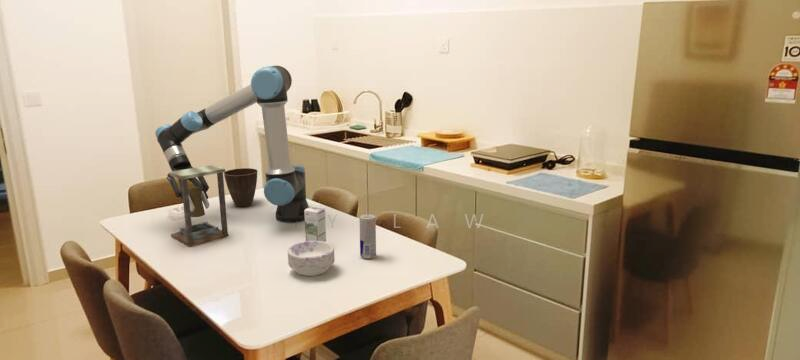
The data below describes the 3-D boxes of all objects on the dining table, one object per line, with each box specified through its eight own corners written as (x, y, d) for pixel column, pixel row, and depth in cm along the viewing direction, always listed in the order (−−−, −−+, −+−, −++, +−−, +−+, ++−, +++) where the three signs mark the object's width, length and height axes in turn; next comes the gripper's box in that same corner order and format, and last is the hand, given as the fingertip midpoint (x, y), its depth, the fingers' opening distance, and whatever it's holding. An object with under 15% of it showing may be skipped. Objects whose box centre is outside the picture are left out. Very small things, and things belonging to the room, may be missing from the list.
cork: (201, 217, 211) (199, 189, 208) (186, 217, 211) (183, 189, 208) (207, 212, 217) (204, 185, 214) (192, 212, 217) (189, 185, 214)
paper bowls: (314, 284, 173) (313, 260, 171) (279, 273, 181) (277, 251, 179) (344, 267, 186) (343, 245, 184) (309, 258, 194) (308, 237, 192)
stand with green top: (210, 226, 227) (205, 162, 220) (230, 236, 216) (225, 168, 209) (169, 237, 215) (162, 169, 209) (188, 247, 204) (181, 176, 197)
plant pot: (220, 208, 251) (217, 174, 247) (235, 199, 266) (232, 167, 262) (251, 210, 249) (249, 176, 245) (264, 201, 263) (262, 168, 259)
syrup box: (327, 244, 207) (325, 207, 204) (318, 249, 202) (316, 211, 198) (314, 241, 210) (312, 205, 206) (305, 247, 204) (303, 209, 201)
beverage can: (378, 254, 197) (377, 214, 193) (372, 260, 192) (371, 219, 188) (363, 252, 199) (363, 213, 195) (357, 258, 193) (356, 217, 190)
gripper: (197, 161, 226) (220, 208, 219) (152, 169, 214) (174, 218, 207) (202, 150, 221) (225, 198, 214) (156, 157, 209) (179, 208, 202)
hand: (200, 208), depth 210 cm, fingers closed on cork, 5 cm apart
